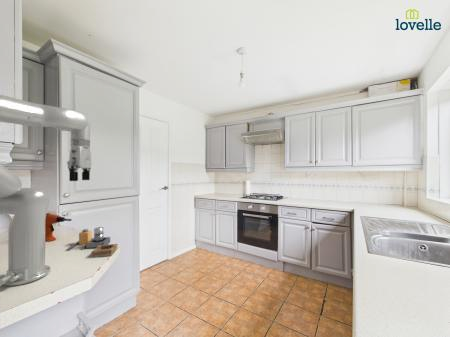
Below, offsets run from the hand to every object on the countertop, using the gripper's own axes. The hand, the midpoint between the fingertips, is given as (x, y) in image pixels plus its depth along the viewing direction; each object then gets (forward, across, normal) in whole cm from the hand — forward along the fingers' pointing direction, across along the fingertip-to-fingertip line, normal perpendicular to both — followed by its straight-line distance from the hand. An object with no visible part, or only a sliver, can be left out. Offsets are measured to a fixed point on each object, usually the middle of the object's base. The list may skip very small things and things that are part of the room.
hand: (80, 180), depth 97 cm
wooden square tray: (+33, -3, -13) cm, 36 cm away
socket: (+33, +8, -5) cm, 34 cm away
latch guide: (+33, +8, +3) cm, 34 cm away
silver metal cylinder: (+32, +8, -5) cm, 34 cm away
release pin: (+33, +11, +3) cm, 35 cm away
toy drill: (+33, +15, +19) cm, 41 cm away
